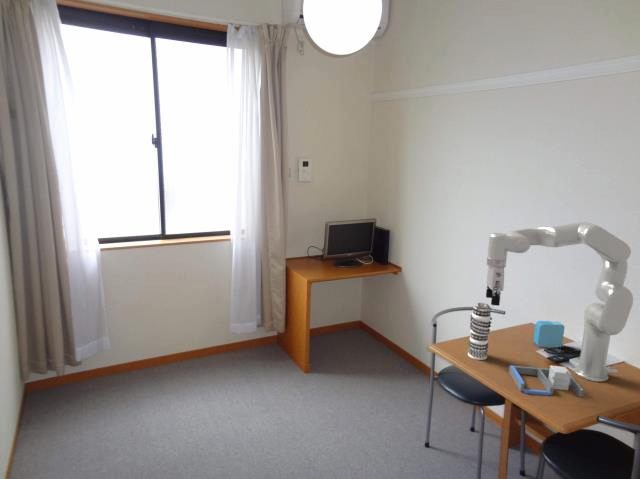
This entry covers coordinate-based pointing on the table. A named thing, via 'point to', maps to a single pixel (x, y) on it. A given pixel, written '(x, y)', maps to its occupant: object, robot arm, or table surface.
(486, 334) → the white patterned tower
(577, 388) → the comb organiser
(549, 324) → the data package
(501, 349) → the table surface
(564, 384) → the skincare box
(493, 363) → the table surface
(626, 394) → the table surface
